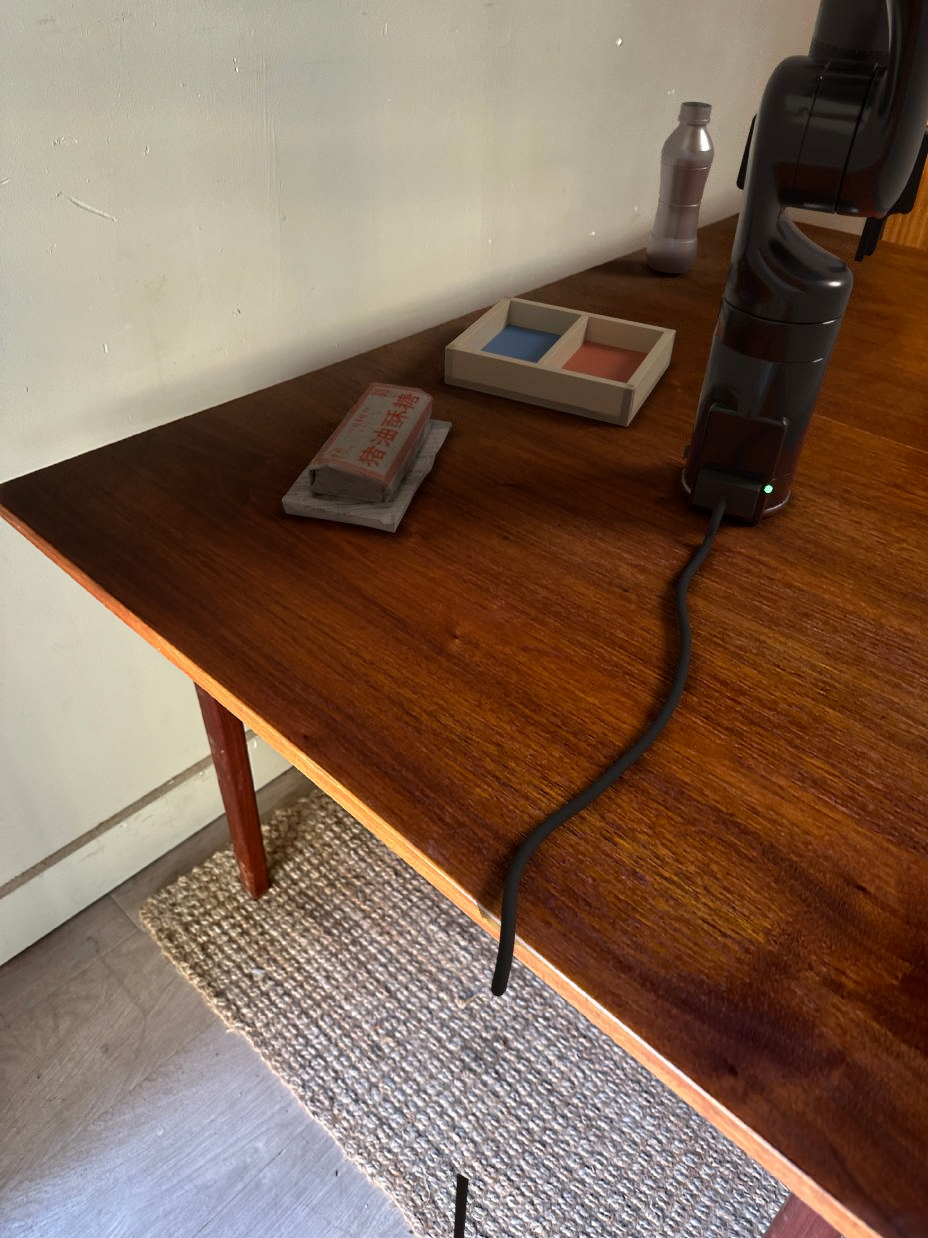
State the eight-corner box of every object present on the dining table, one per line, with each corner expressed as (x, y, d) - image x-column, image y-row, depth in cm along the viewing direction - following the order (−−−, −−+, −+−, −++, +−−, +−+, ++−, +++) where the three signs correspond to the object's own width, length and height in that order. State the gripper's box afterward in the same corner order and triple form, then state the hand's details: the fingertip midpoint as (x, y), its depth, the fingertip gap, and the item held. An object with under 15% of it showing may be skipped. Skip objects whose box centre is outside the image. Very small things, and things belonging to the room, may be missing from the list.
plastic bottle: (692, 281, 121) (725, 112, 108) (641, 276, 122) (667, 108, 109) (693, 264, 126) (724, 101, 113) (644, 260, 127) (669, 97, 114)
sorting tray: (627, 426, 90) (633, 389, 87) (444, 383, 96) (445, 346, 93) (669, 364, 101) (676, 329, 98) (503, 329, 107) (505, 295, 104)
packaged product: (351, 371, 86) (453, 386, 85) (353, 418, 89) (451, 433, 88) (275, 466, 73) (394, 486, 71) (281, 516, 76) (395, 536, 74)
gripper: (759, 35, 68) (717, 252, 79) (964, 55, 64) (889, 281, 75) (779, 15, 73) (737, 222, 84) (970, 32, 69) (899, 248, 80)
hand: (808, 249), depth 80 cm, fingers open, 8 cm apart
